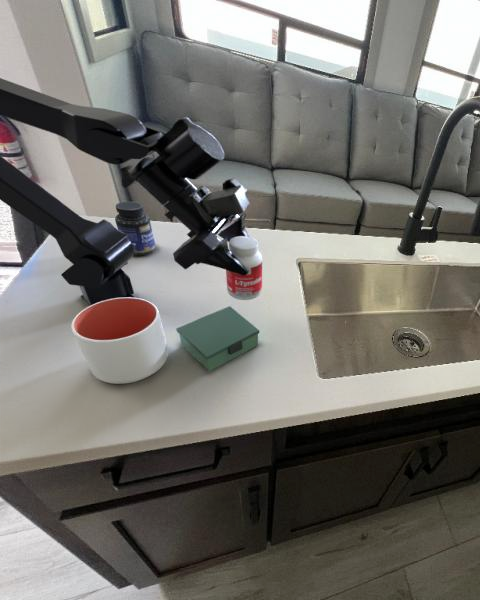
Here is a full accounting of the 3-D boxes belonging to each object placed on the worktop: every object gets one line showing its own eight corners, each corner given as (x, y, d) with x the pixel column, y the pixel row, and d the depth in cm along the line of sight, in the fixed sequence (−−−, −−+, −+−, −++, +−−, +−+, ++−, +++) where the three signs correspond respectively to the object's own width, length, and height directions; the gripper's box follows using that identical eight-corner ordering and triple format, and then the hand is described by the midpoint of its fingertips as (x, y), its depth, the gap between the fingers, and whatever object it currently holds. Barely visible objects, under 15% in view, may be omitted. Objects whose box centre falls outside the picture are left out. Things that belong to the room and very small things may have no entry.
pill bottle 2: (233, 304, 61) (230, 253, 55) (223, 285, 64) (219, 235, 58) (267, 297, 65) (267, 248, 58) (255, 280, 68) (255, 232, 62)
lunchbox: (210, 374, 56) (207, 358, 54) (178, 343, 59) (174, 327, 57) (261, 346, 63) (260, 331, 61) (230, 320, 67) (229, 305, 64)
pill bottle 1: (151, 257, 76) (140, 213, 70) (119, 255, 74) (105, 209, 68) (159, 244, 81) (150, 202, 74) (130, 242, 79) (118, 198, 72)
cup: (85, 393, 48) (60, 346, 43) (100, 345, 55) (81, 298, 50) (166, 381, 53) (154, 337, 47) (172, 338, 60) (162, 295, 54)
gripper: (186, 187, 43) (272, 271, 51) (233, 152, 58) (294, 222, 66) (131, 229, 46) (221, 302, 54) (190, 185, 61) (253, 248, 69)
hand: (251, 264), depth 61 cm, fingers closed on pill bottle 2, 6 cm apart
